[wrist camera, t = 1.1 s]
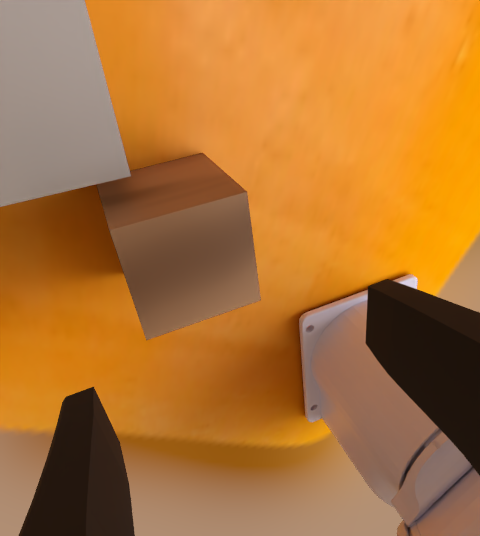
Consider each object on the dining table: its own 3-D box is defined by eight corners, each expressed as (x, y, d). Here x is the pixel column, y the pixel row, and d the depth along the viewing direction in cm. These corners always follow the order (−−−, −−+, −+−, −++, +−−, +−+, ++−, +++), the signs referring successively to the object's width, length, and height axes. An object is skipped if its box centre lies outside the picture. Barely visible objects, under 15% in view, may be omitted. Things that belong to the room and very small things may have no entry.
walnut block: (218, 244, 20) (260, 300, 16) (126, 272, 19) (146, 340, 15) (202, 152, 18) (246, 191, 14) (95, 179, 17) (109, 230, 13)
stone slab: (119, 153, 17) (131, 176, 14) (-46, 189, 15) (-64, 221, 13) (69, -30, 14) (73, -40, 11) (-147, -7, 12) (-195, -13, 10)
